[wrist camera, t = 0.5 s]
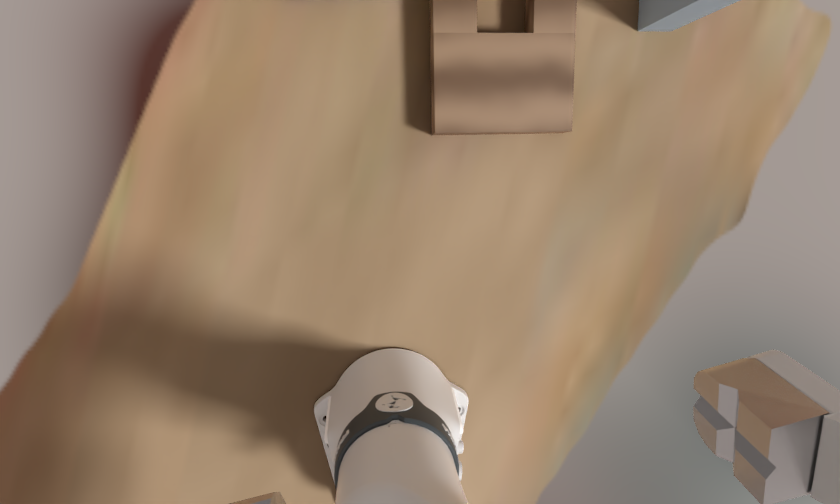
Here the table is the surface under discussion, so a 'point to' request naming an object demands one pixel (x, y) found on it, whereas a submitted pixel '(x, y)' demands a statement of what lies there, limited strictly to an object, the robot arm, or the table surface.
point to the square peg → (675, 12)
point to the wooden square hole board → (502, 70)
